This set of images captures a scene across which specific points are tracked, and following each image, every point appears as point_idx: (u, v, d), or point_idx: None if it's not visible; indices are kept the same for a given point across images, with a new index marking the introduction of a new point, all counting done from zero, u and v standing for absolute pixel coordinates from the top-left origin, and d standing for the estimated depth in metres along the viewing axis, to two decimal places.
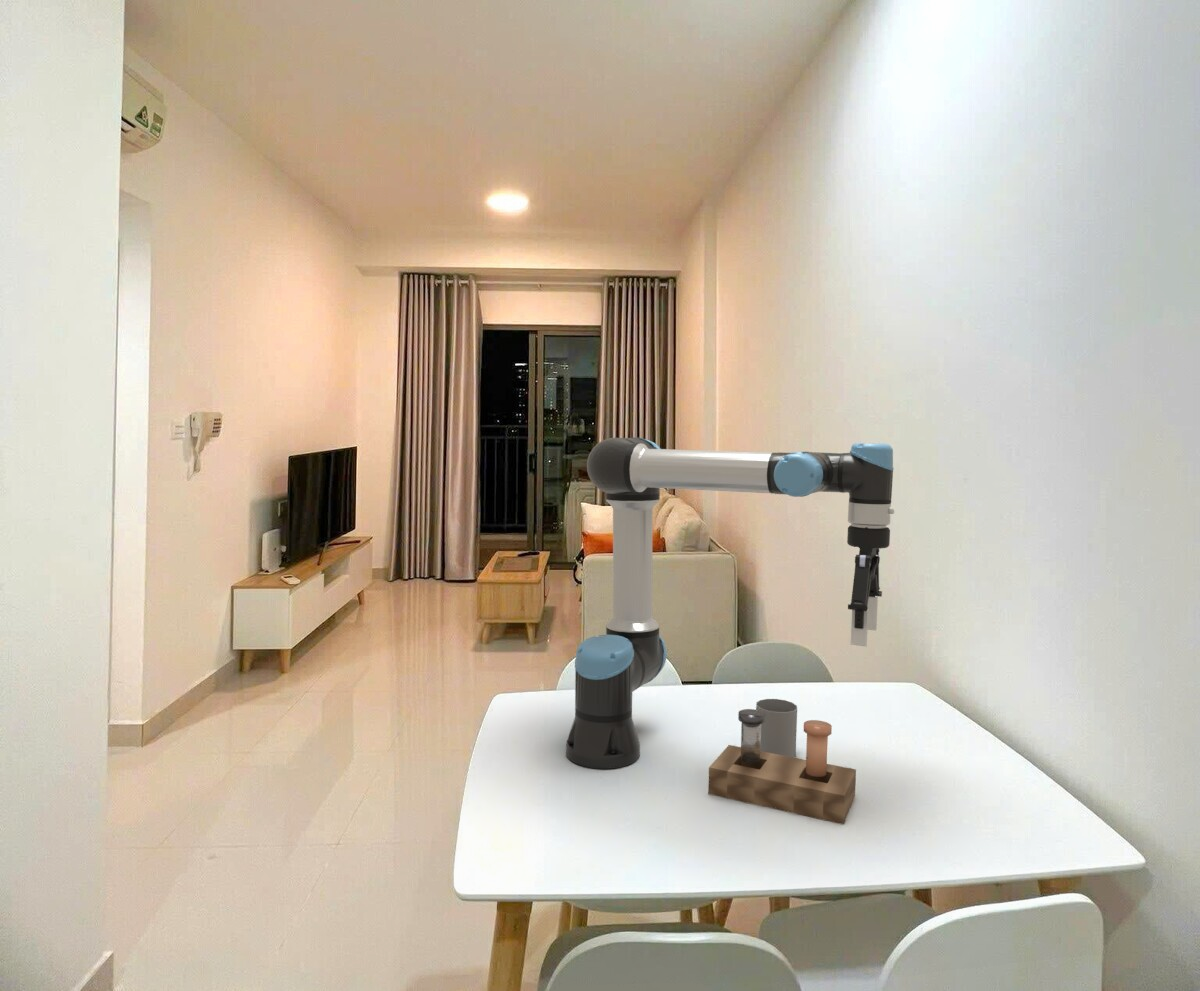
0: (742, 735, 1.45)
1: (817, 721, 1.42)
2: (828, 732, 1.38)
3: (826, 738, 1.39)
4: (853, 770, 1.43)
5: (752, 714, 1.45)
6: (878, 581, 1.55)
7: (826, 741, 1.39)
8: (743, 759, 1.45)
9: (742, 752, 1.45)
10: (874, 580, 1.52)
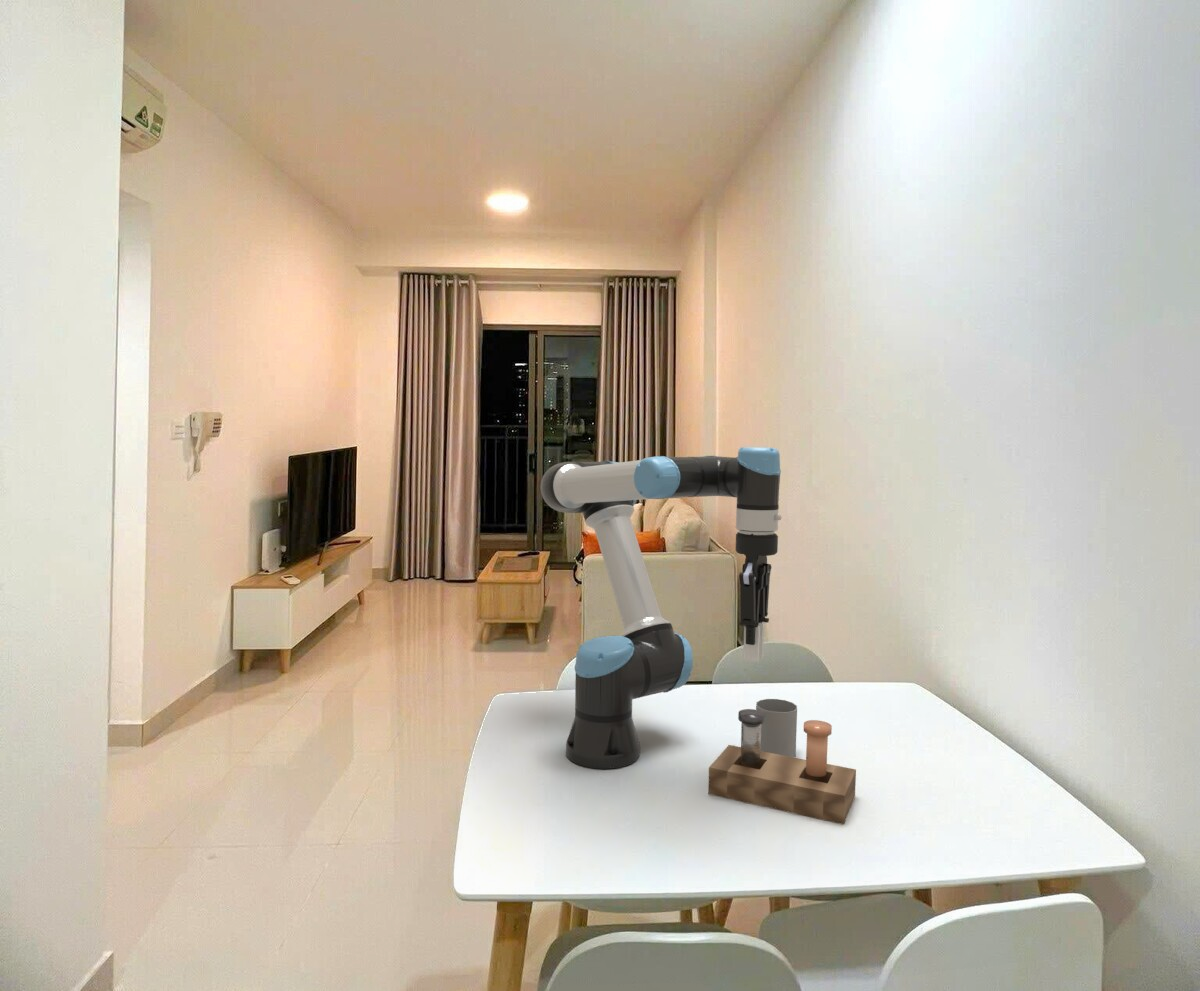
0: (742, 735, 1.45)
1: (817, 721, 1.42)
2: (828, 732, 1.38)
3: (826, 738, 1.39)
4: (853, 770, 1.43)
5: (752, 714, 1.45)
6: (767, 603, 1.47)
7: (826, 741, 1.39)
8: (743, 759, 1.45)
9: (742, 752, 1.45)
10: (761, 596, 1.44)
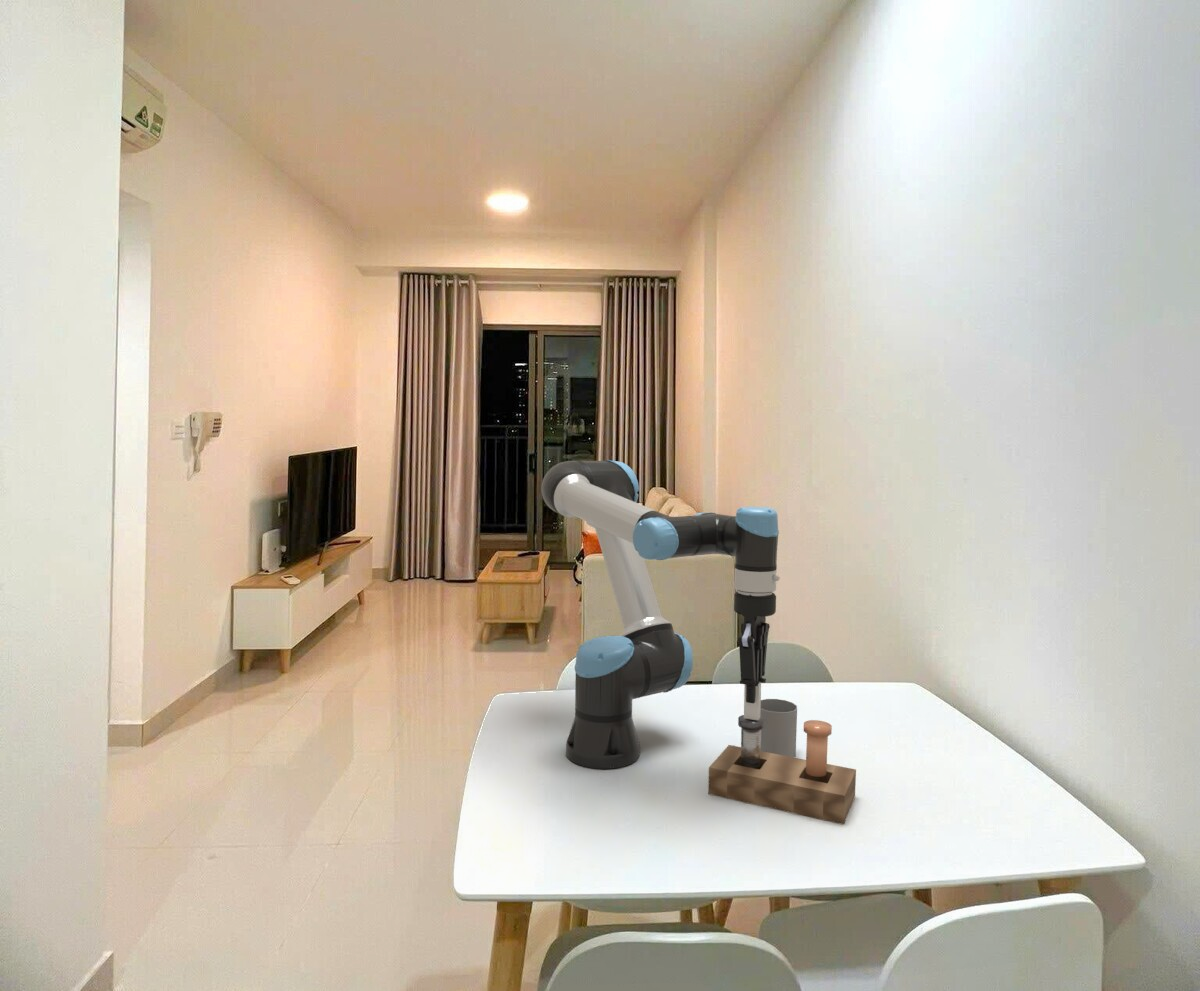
0: (742, 741, 1.45)
1: (817, 721, 1.42)
2: (828, 732, 1.38)
3: (826, 738, 1.39)
4: (853, 770, 1.43)
5: None
6: (764, 663, 1.47)
7: (826, 741, 1.39)
8: (743, 765, 1.45)
9: (742, 758, 1.45)
10: (759, 655, 1.45)
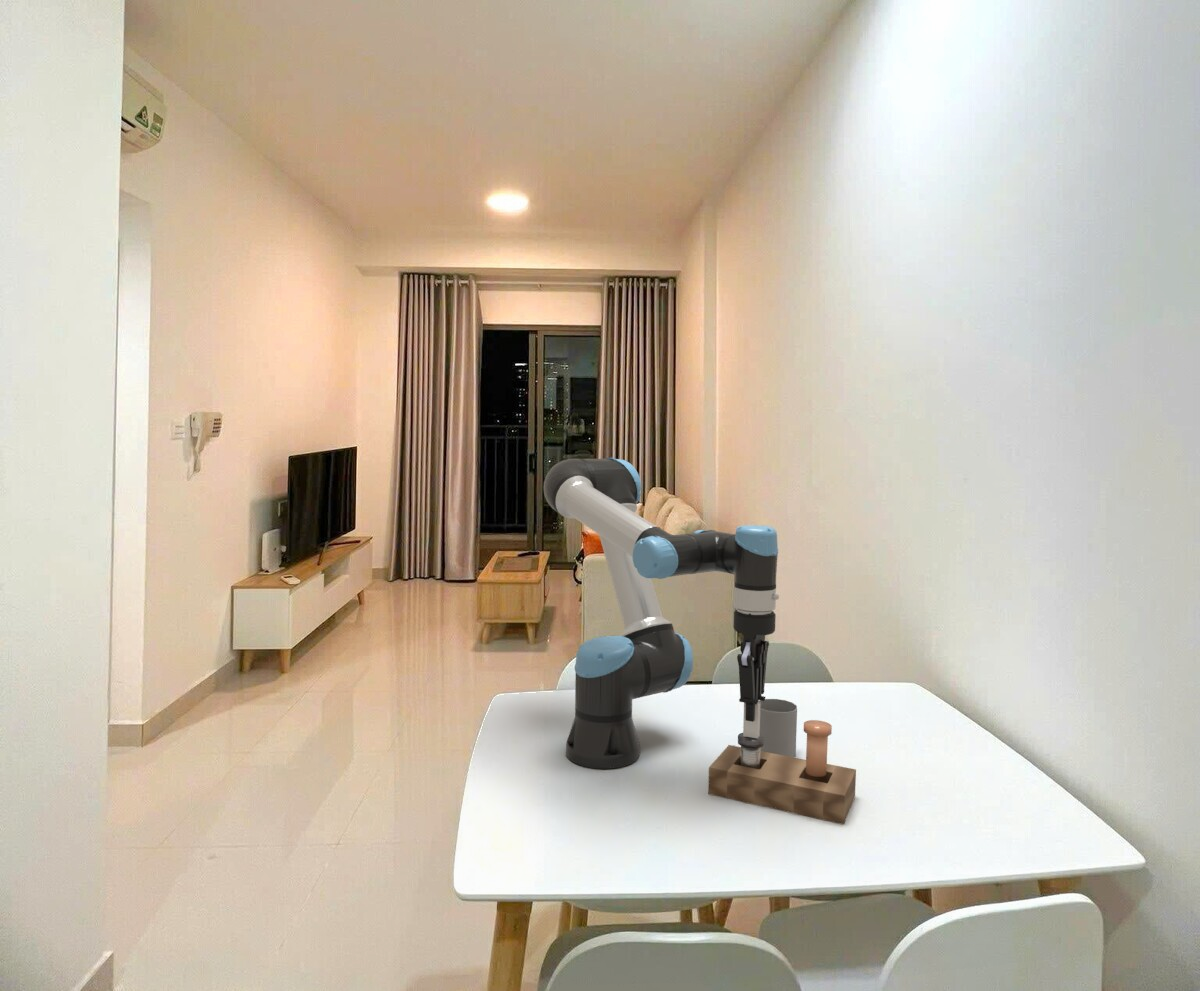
0: (741, 758, 1.45)
1: (817, 721, 1.42)
2: (828, 732, 1.38)
3: (826, 738, 1.39)
4: (853, 770, 1.43)
5: None
6: (763, 681, 1.47)
7: (826, 741, 1.39)
8: None
9: None
10: (758, 673, 1.45)
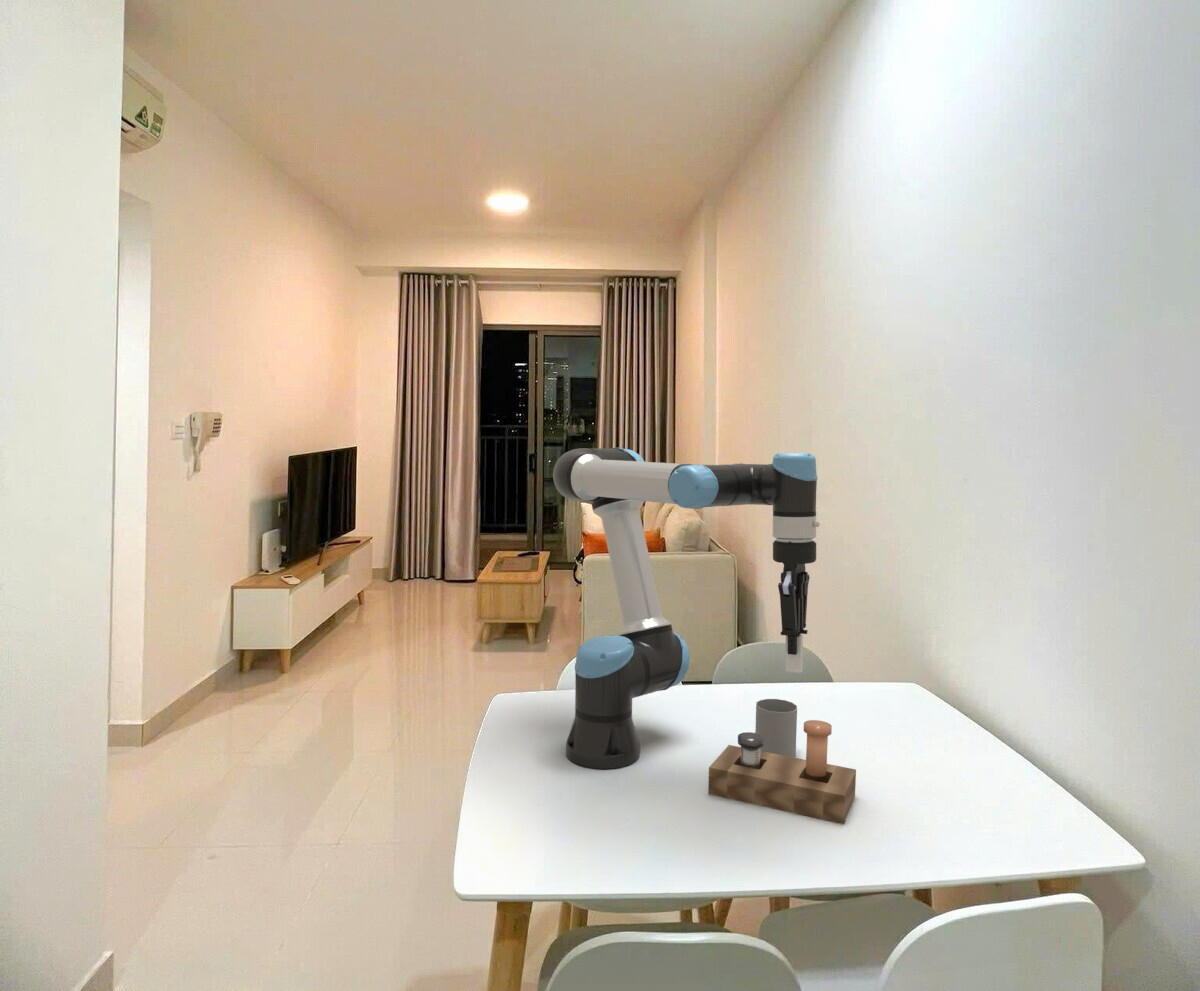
0: (741, 759, 1.45)
1: (817, 721, 1.42)
2: (828, 732, 1.38)
3: (826, 738, 1.39)
4: (853, 770, 1.43)
5: (752, 737, 1.45)
6: (805, 614, 1.43)
7: (826, 741, 1.39)
8: None
9: None
10: (800, 606, 1.40)
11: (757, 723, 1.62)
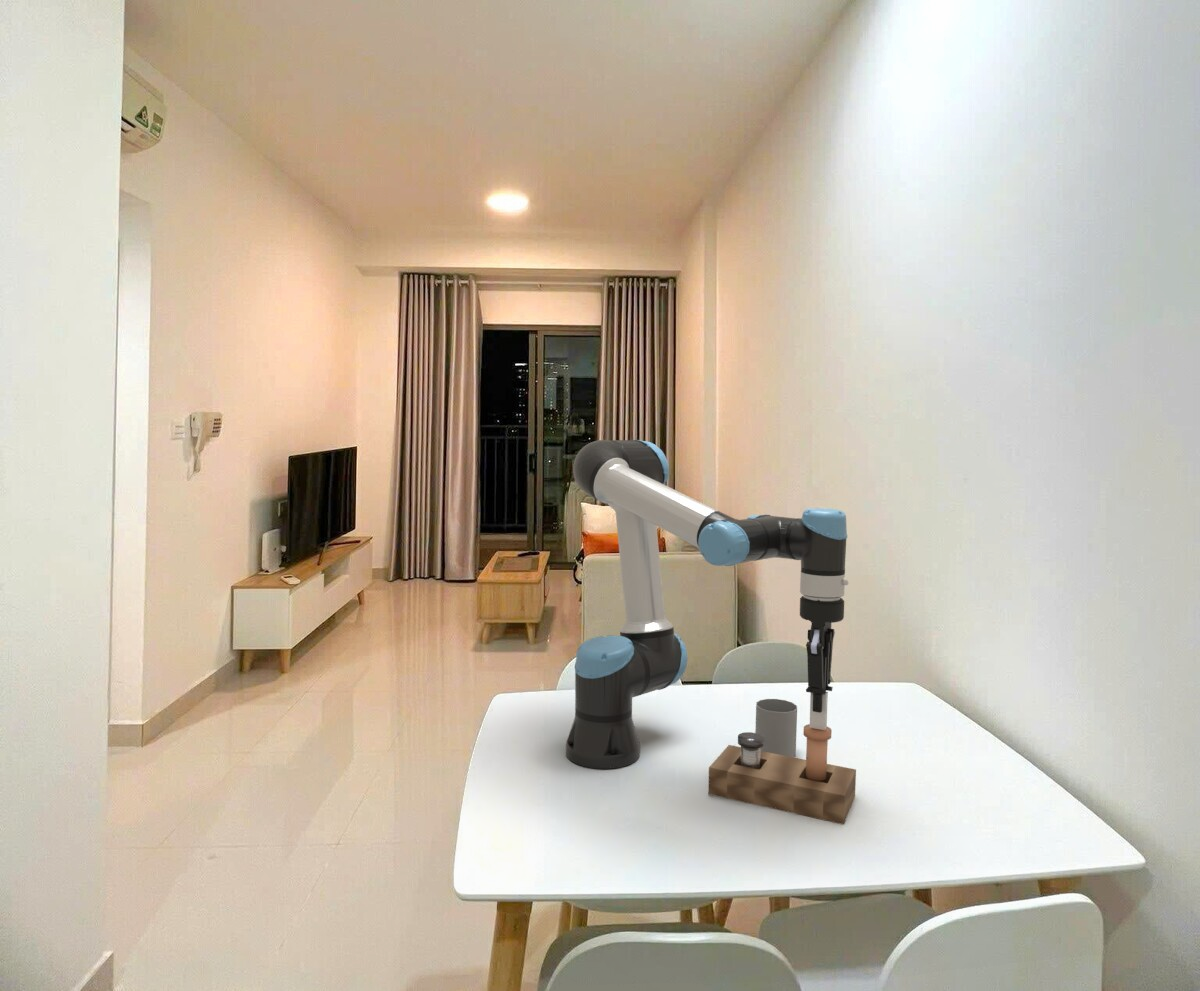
0: (741, 759, 1.45)
1: None
2: (828, 736, 1.38)
3: (826, 742, 1.39)
4: (853, 770, 1.43)
5: (752, 737, 1.45)
6: (830, 670, 1.42)
7: (826, 745, 1.39)
8: None
9: None
10: (826, 663, 1.39)
11: (757, 723, 1.62)
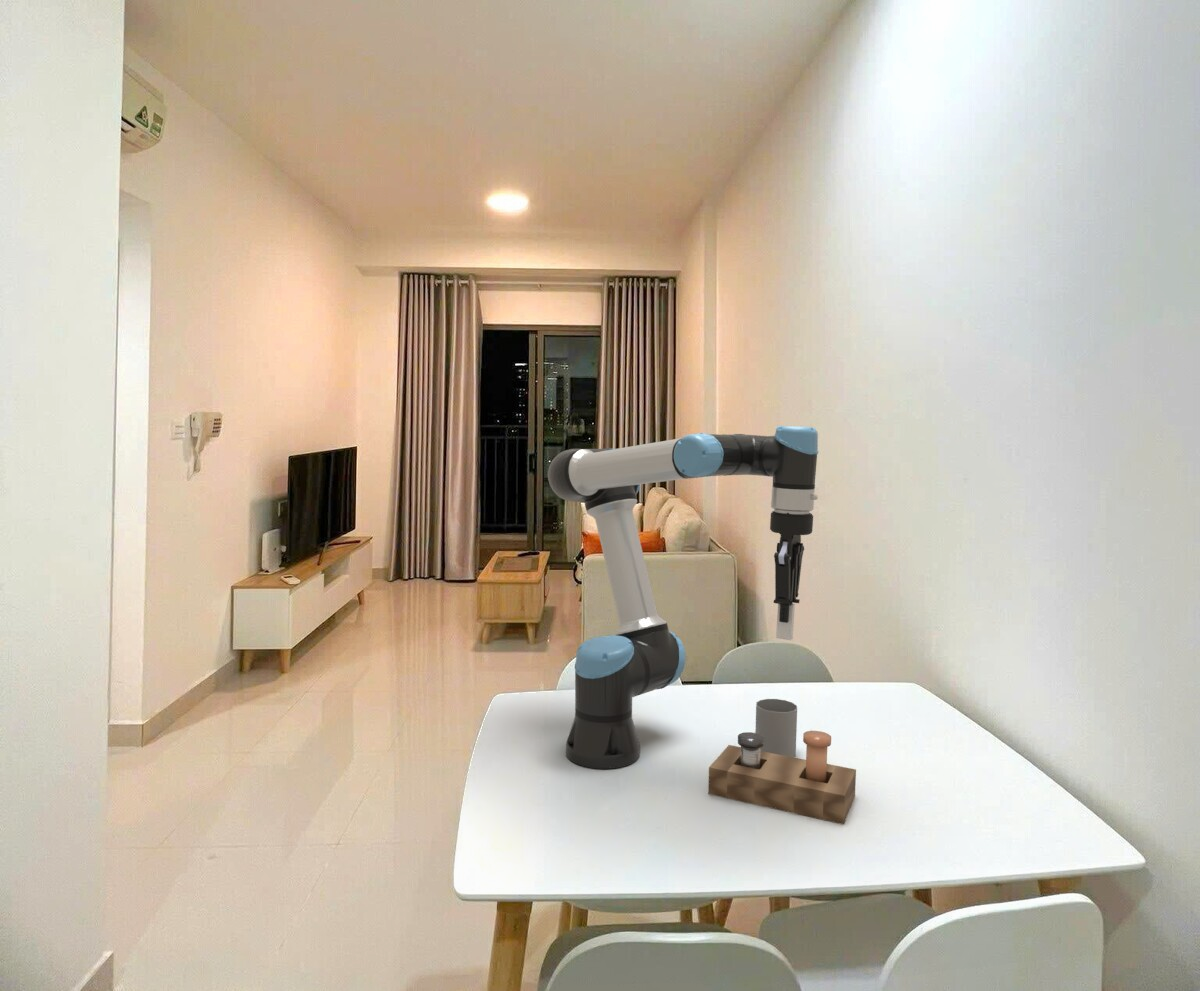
0: (741, 759, 1.45)
1: (817, 732, 1.42)
2: (828, 743, 1.38)
3: (826, 749, 1.39)
4: (853, 770, 1.43)
5: (752, 737, 1.45)
6: (798, 584, 1.46)
7: (826, 752, 1.39)
8: None
9: None
10: (794, 576, 1.44)
11: (757, 723, 1.62)
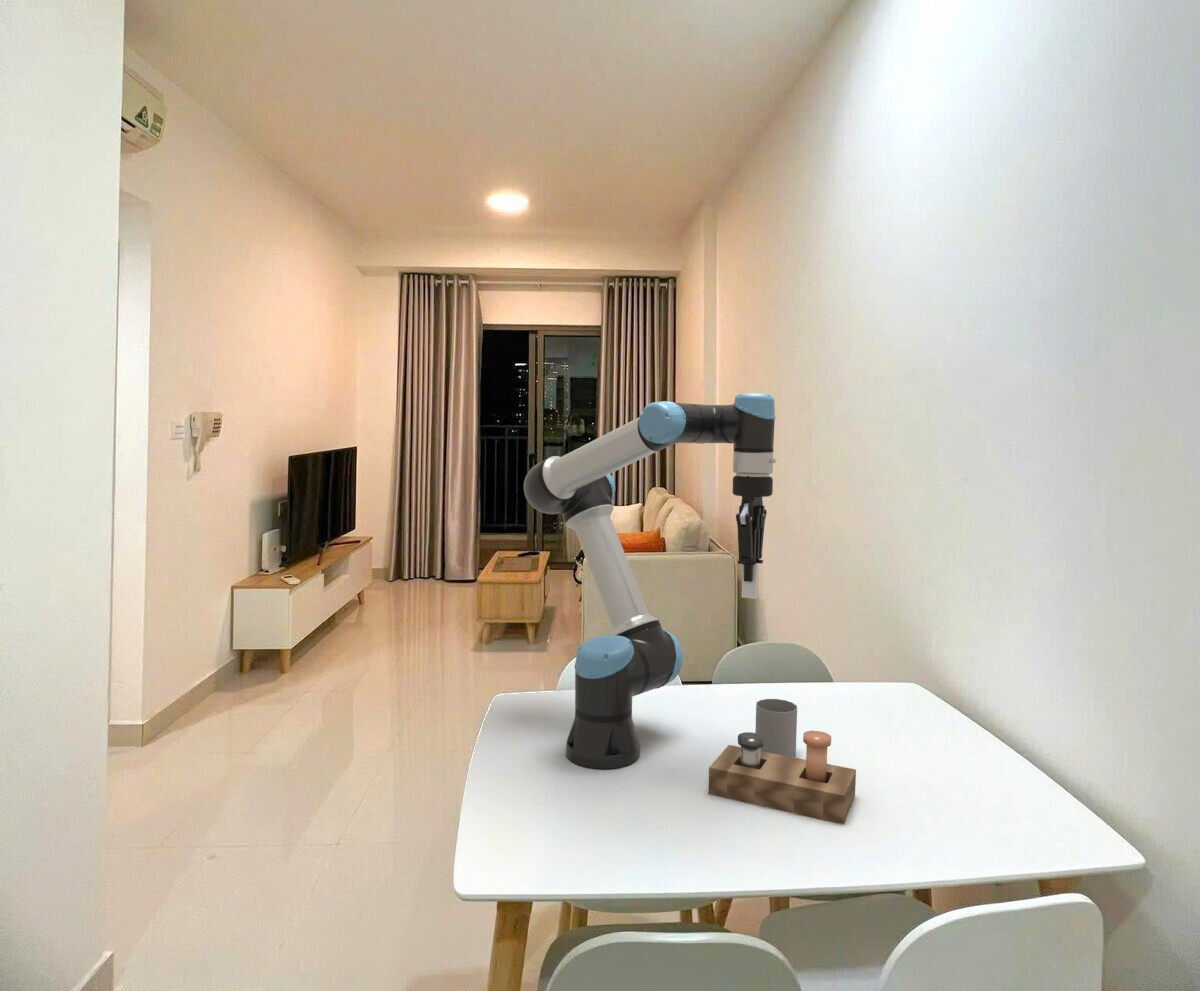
0: (741, 759, 1.45)
1: (817, 732, 1.42)
2: (828, 743, 1.38)
3: (826, 749, 1.39)
4: (853, 770, 1.43)
5: (752, 737, 1.45)
6: (761, 546, 1.53)
7: (826, 752, 1.39)
8: None
9: None
10: (756, 537, 1.51)
11: (757, 723, 1.62)
